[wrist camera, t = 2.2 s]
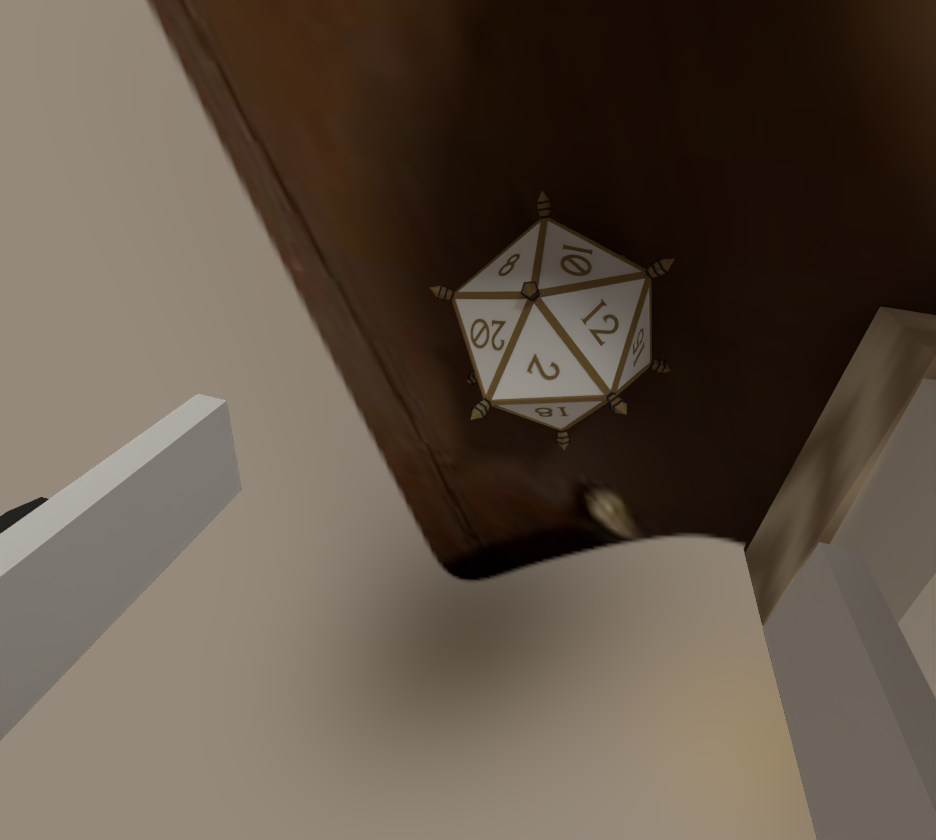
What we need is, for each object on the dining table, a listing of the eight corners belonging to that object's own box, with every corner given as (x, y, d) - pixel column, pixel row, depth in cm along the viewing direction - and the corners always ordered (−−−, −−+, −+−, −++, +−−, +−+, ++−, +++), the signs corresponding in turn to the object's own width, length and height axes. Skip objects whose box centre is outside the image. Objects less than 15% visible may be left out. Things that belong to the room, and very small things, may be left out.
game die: (552, 305, 28) (424, 439, 24) (521, 142, 22) (343, 292, 18) (722, 360, 23) (590, 540, 19) (747, 167, 16) (558, 383, 13)
